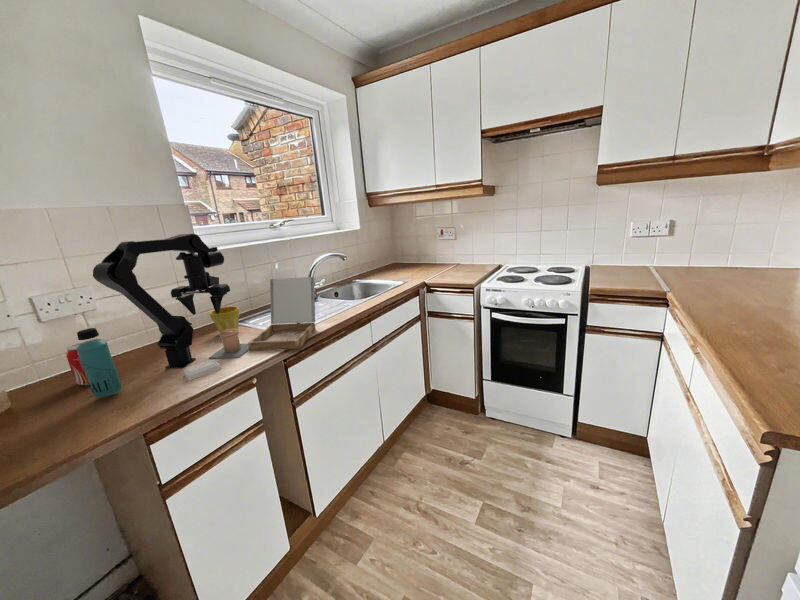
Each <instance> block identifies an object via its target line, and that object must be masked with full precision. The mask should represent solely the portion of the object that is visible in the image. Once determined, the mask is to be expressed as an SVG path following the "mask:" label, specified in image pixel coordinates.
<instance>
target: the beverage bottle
mask: <svg viewBox="0 0 800 600" xmlns="http://www.w3.org/2000/svg"><path fill="white" fill-rule="evenodd" d="M76 336H77V340H79V341H83V342H80V343H81V344H80V345H79V346H78V348H77V352H78V354H79V357H80V360H81V365H82V367H83V369H84V372H85V373H86V376H87V379H88V381H89V383H88V384H89V385H88V387H89V389H90V390H91V393H92V395H93V396H94V397H95V398H105V397H108V396H111V395H114V394H116V393H118V392H120V391H121V390H122V389H123V385H122V384H123V383H122V381H121V379H120V375H119V373H118V371H117V367H116V366H115V363H114V360H113V357H112V353H111V351H110V348H109V345H108V342H107V340H103V339H101V338H96V337H99V336H100V334H99V332H98V330H97V328H95V327H91V328H90V327H89V328H85V329H81V330H79V331H77V332H76ZM85 340H86V341H85Z"/></svg>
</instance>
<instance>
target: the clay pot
mask: <svg viewBox="0 0 800 600" xmlns="http://www.w3.org/2000/svg"><path fill="white" fill-rule="evenodd" d="M218 334H219V337H220V338H221V341H222V345H223V347H224V351H225V353H234V352H237V351H239V350H240V349H241V346H240V344H241V343H240V338H239V328H238V329H227V330H224V331H222V332H219V333H218ZM223 347H222V348H223Z"/></svg>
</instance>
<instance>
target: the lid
mask: <svg viewBox="0 0 800 600" xmlns="http://www.w3.org/2000/svg"><path fill="white" fill-rule="evenodd" d="M269 285H270V325H272V324H296V323H316V299H315V296H316V295H315V293H316V292H315V277H314V276H307V277H306V276H302V277H287V278H274V279H273V278H270V281H269Z"/></svg>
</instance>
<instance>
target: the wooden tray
mask: <svg viewBox="0 0 800 600" xmlns="http://www.w3.org/2000/svg"><path fill="white" fill-rule="evenodd" d="M316 330H317V329H316V322H308V323H285V324H270V325H269V326H267V327H266V328H265V329H264V330H262V331H260V333H258V334H257V335H256V336H254V337H253V338H252V339H251V340H249V341H248V342H247V344H248V346H249V350H248V351H250V352H251V351H273V350H275V351H278V350H277V349H283V350H300V348H301V347H302V346H303V345H305V343H306V341H307V340H308V339H309V338H310V337H311V336H312V335H313V334H314V332H316ZM291 331H296V332H302V333H301V334H300V335H299V336H298V337H297V338H296V339H286V340H285V339H284V340H280V339H279V340H267V338H269V337H270V336H272V334H274V333H292V332H291ZM312 333H313V334H312ZM311 334H312V335H311ZM310 335H311V336H310ZM309 336H310V337H309Z"/></svg>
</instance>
